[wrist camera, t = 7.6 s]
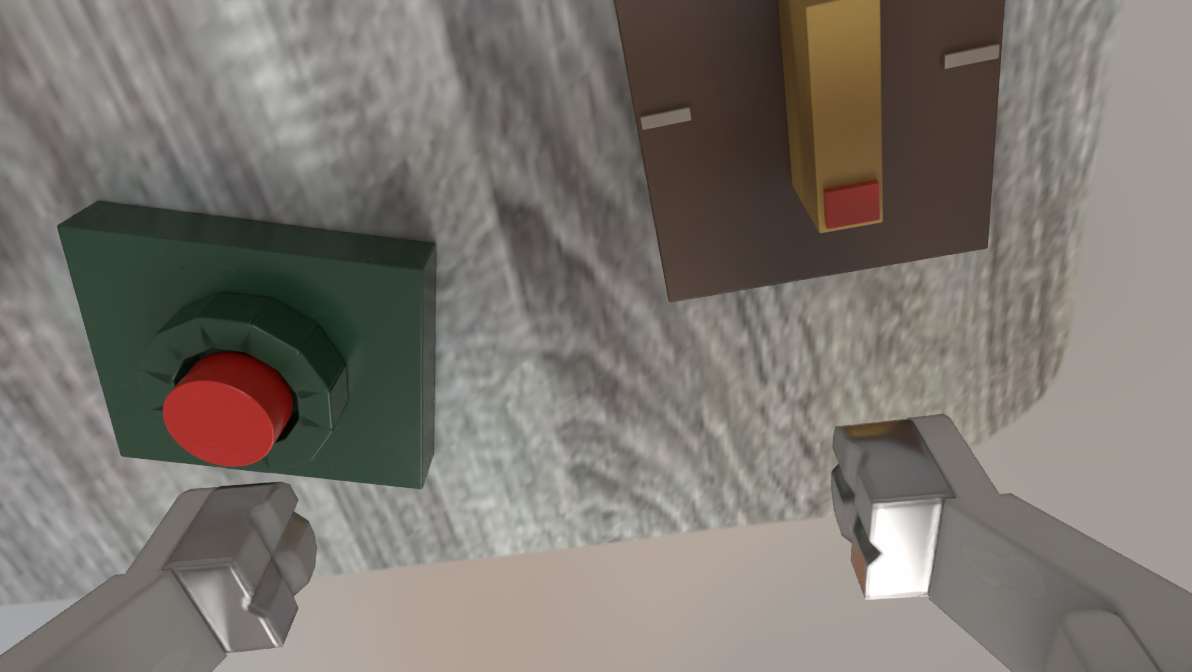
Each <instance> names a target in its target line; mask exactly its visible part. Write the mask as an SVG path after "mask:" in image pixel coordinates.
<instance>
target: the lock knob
mask: <svg viewBox="0 0 1192 672" xmlns="http://www.w3.org/2000/svg"><path fill="white" fill-rule="evenodd" d="M778 8H779V21H780V34H781V47H782V59H783V72H784V85H785V98H786V110H787V123H788V136H789V149H790V161H791V174H792V186H793V187H794V189H795V191H796V193H797V194H798V196H799V198H800V200H801V201H802V203H803V205H804V207H805V208H806V210H807V212H808V214H809V215H810V217H811V219H812V220H813V222H814V224H815V226H816V227H817V229H818V231H819V233H824V232H830V231H835V230H841V229H847V228H852V227H858V226H863V225H869V224H874V223H880V222H882V221H883V194H882V116H881V38H880V0H778Z"/></svg>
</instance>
